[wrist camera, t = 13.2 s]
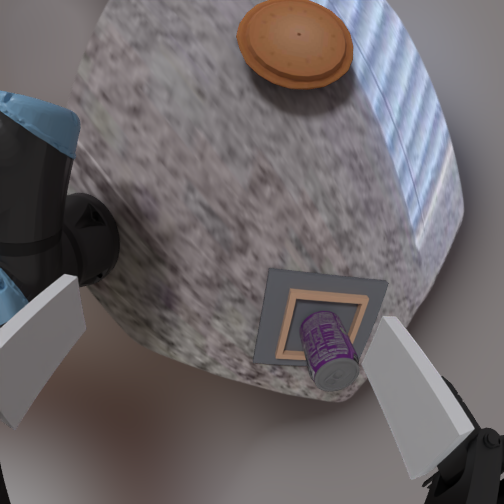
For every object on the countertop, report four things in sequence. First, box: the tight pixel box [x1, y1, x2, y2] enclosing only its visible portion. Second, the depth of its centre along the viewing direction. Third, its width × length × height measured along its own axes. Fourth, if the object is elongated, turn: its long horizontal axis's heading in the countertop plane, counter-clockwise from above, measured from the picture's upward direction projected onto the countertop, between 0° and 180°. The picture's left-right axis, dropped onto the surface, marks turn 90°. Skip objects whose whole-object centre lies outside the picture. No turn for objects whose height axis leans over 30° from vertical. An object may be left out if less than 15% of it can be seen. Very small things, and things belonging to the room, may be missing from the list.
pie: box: [236, 0, 353, 90], centre depth 27 cm, size 16×16×5 cm
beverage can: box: [299, 311, 359, 391], centre depth 37 cm, size 7×7×12 cm
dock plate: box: [253, 268, 389, 366], centre depth 43 cm, size 20×18×2 cm
